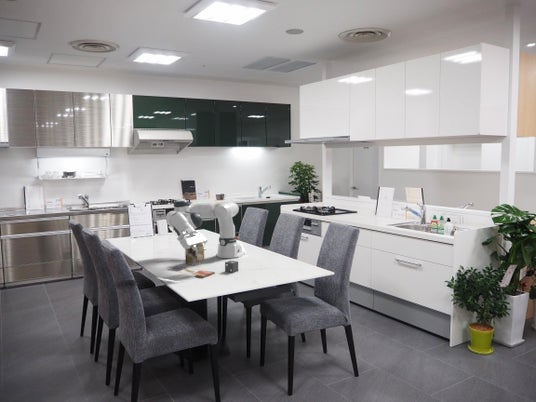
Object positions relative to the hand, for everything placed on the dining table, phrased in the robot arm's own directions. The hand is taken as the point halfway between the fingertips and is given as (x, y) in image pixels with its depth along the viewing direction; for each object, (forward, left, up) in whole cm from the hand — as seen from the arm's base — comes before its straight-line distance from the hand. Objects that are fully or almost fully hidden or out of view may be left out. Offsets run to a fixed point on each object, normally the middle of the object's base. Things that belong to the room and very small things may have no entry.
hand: (201, 251), depth 275 cm
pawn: (0, -1, -5) cm, 5 cm away
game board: (-1, -10, -15) cm, 18 cm away
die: (-17, +11, -15) cm, 25 cm away
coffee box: (-18, -20, -15) cm, 31 cm away
